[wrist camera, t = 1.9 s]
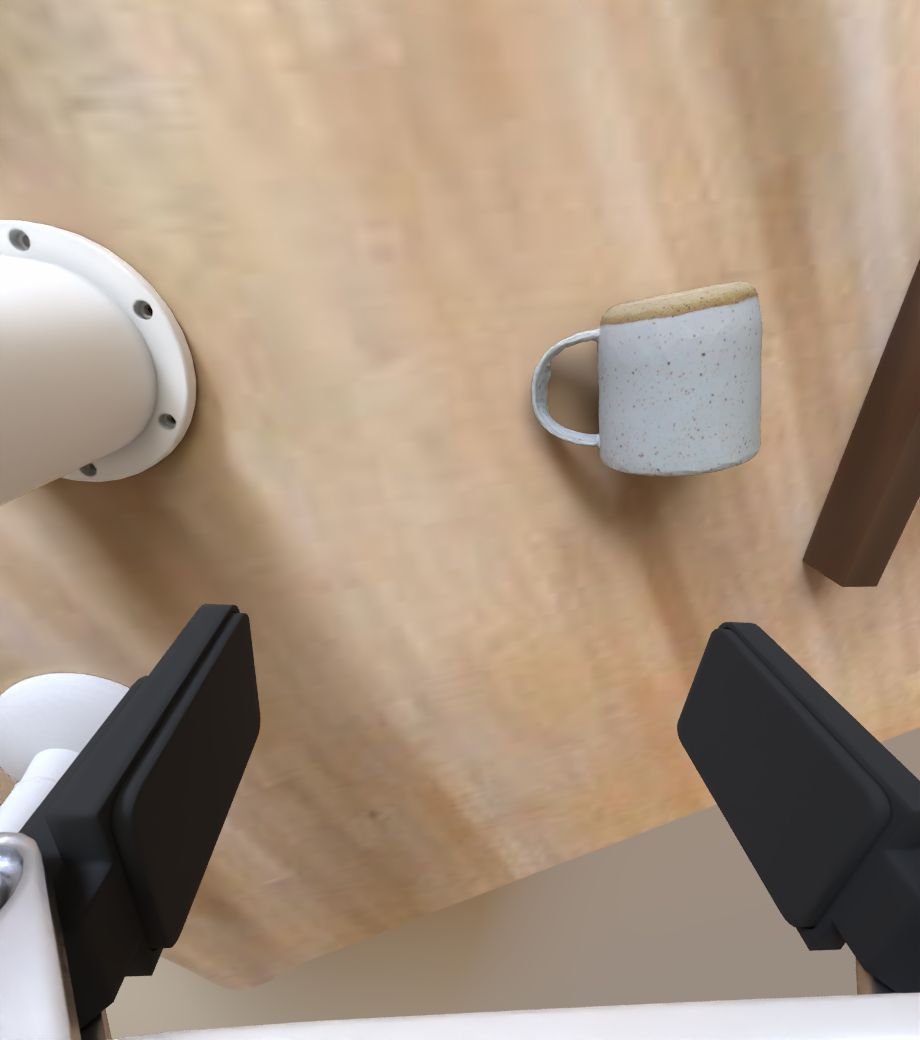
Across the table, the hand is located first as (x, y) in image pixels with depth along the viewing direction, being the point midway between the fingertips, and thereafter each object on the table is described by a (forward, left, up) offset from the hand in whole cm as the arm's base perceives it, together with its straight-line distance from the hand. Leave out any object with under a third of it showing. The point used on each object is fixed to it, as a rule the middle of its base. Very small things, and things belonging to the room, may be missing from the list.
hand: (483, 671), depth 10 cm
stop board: (+22, +16, -20) cm, 34 cm away
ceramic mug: (+7, +8, -20) cm, 23 cm away
